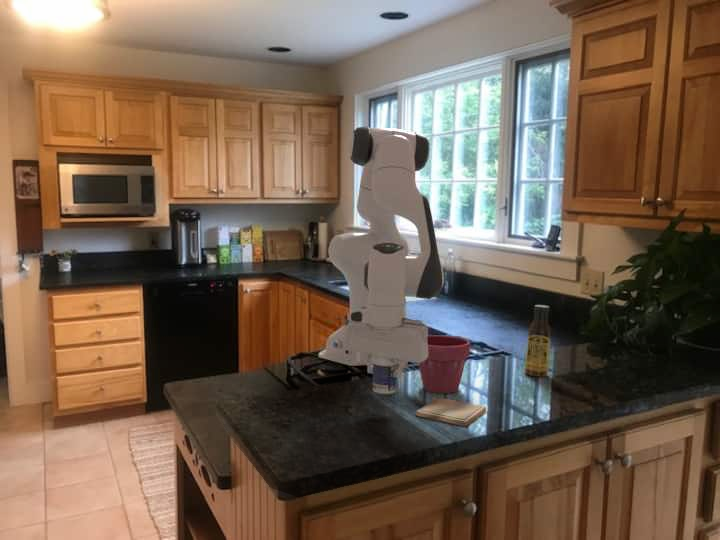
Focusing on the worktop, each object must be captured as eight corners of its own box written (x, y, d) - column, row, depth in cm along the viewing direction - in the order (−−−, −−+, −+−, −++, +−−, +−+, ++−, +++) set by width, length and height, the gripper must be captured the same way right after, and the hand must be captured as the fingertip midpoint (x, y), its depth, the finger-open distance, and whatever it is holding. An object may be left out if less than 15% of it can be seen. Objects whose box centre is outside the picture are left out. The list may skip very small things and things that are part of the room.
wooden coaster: (416, 415, 136) (416, 410, 135) (438, 401, 146) (438, 396, 146) (466, 426, 129) (466, 421, 129) (485, 411, 139) (486, 406, 139)
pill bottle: (394, 395, 134) (395, 352, 133) (370, 393, 135) (371, 351, 134) (397, 388, 139) (398, 347, 138) (374, 386, 140) (375, 345, 139)
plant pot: (436, 377, 166) (437, 332, 165) (479, 389, 156) (481, 340, 155) (402, 387, 156) (403, 339, 155) (445, 400, 146) (447, 349, 145)
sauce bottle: (523, 376, 169) (526, 306, 167) (526, 370, 175) (529, 303, 173) (547, 379, 167) (551, 308, 165) (549, 373, 173) (553, 305, 170)
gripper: (434, 319, 133) (432, 380, 134) (356, 308, 143) (355, 365, 145) (421, 323, 127) (419, 387, 129) (341, 312, 138) (340, 371, 140)
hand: (384, 375), depth 137 cm, fingers closed on pill bottle, 5 cm apart
